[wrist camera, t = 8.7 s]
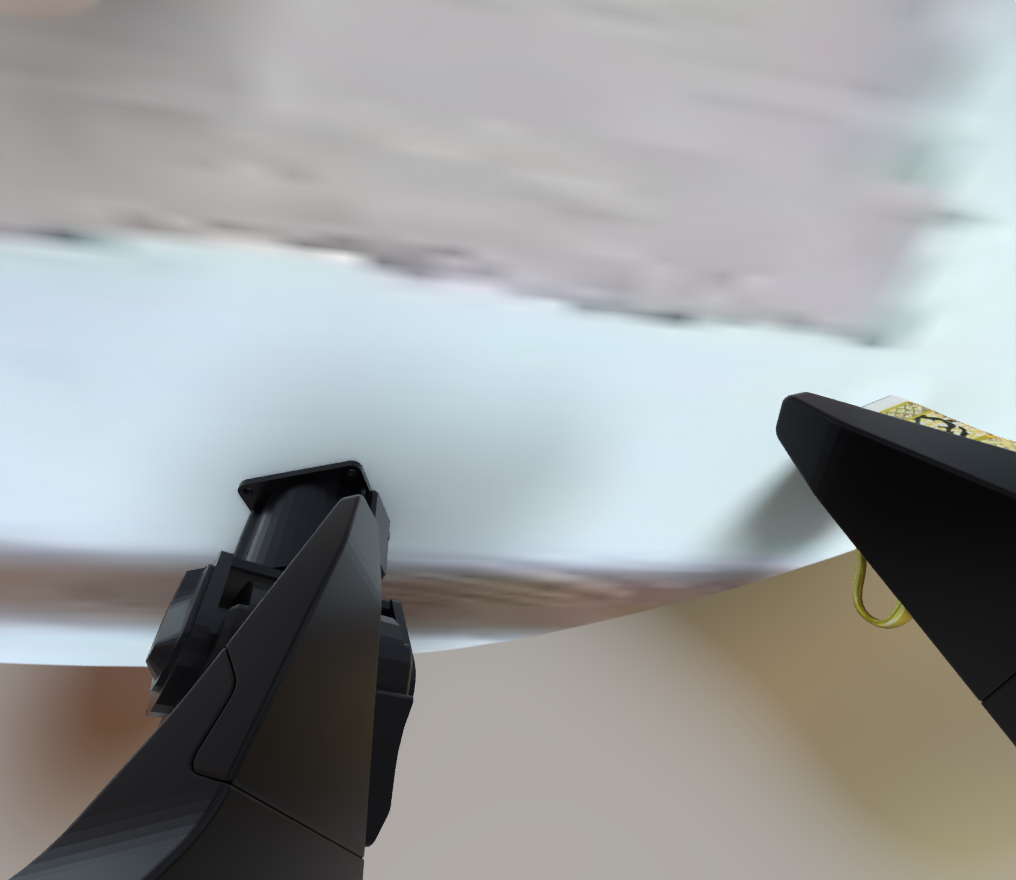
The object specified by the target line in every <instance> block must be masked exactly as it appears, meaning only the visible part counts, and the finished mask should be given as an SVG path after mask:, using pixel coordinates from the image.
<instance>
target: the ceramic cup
mask: <svg viewBox="0 0 1016 880" xmlns="http://www.w3.org/2000/svg"><path fill="white" fill-rule="evenodd" d="M862 408H865V409H869V410H872V411H876V412H879V413H883V414H886V415H890V416H893V417H897V418H900V419H904V420H907V421H911V422H914V423H918V424H921V425H925V426H928V427H932V428H935V429H939V430H942V431H946V432H949V433H953V434H956V435H960V436H963V437H967V438H970V439H974V440H977V441H981V442H984V443H988V444H991V445H995V446H998V447H1002V448H1005V449H1009V450H1012V451H1016V442H1014V441H1011V440H1007V439H1004V438H1001V437H997V436H995V435H992V434H989V433H987V432H984V431H981V430H978V429H976V428H973V427H971V426H969V425H966V424H964V423H961V422H959V421H956V420H954V419H951V418H949V417H947V416H944V415H942V414H940V413H938V412H935V411H933V410H931V409H928V408H926V407H923V406H921V405H918V404H916V403H913V402H911V401H908V400H906V399H903V398H901V397H898V396H895V395H891V396H888V397H886V398H883V399H881V400H878V401H876V402H873V403H870V404H868V405H865V406H863V407H862ZM856 557H857V567H856V573H855V578H854V583H853V592H852V596H853V603H854V606H855V608H856V610H857V612H858V613H859V614H860V615H861V617H863V618H864V619H865V620H866V621H868V622H869V623H871V624H873V625H875V626H877V627H881V628H886V629H888V628H889V629H891V628H896V627H899V626H902V625H904V624H905V623H907V622H909V621H910V620H911V619H912V616H911V615H910V614H909V613H908V611H907V610H906V609H905V608H904V606H903V605H902V604H901V603H900V601H899V600H897V604H896V607H895V609H894V611H893V613H892V614H891V616H890V617H888V618H887V619H885V620H878V619H876V618H874V617H872V616H871V615H870V614H869V613H868V612H867V611H866V610H865V607H864V605H863V601H862V589H863V584H864V578H865V572H866V559H865V558H864V556H863V555H862V554H861V553H860V551H859V550H858V549H857V548H856Z"/></svg>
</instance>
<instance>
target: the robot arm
mask: <svg viewBox="0 0 1016 880" xmlns="http://www.w3.org/2000/svg"><path fill="white" fill-rule="evenodd" d="M776 434H777V437H778V439H779V441H780V442H781V444H782V445H783V447H784V448H785V450H786V452H787V453H788V455H789V456H790V458H791V459H792V461H793V463H794V464H795V466H796V467H797V469H798V470H799V472H800V474H801V475H802V477H803V478H804V480H805V481H806V483H807V485H808V486H809V488H810V489H811V490H812V492H813V493H814V495H815V496H816V497H817V499H818V500H819V501H820V503H821V504H822V505H823V507H824V508H825V509H826V510H827V512H828V513H829V514H830V515H831V517H832V518H833V519H834V520H835V522H836V523H837V524H838V525H839V527H840V528H841V529H842V530H843V532H844V533H845V534H846V535H847V537H848V538H849V539H850V540H851V542H852V543H853V544H854V545H855V546H856V548H857V549H858V550H859V551H860V553H861V554H862V555H863V556H864V558H865V559H866V560H867V561H868V563H869V564H870V565H871V566H872V568H873V569H874V570H875V571H876V572H877V574H878V575H879V576H880V578H881V579H882V580H883V581H884V583H885V584H886V585H887V586H888V588H889V589H890V590H891V591H892V593H893V594H894V595H895V596H896V598H897V599H898V600H899V601H900V603H901V604H902V605H903V606H904V608H905V609H906V610H907V611H908V613H909V614H910V615H911V616H912V618H913V619H914V620H915V621H916V623H917V624H918V625H919V626H920V627H921V629H922V630H923V631H924V633H925V634H926V635H927V636H928V638H929V639H930V640H931V641H932V643H933V644H934V645H935V646H936V647H937V649H938V650H939V651H940V652H941V654H942V655H943V656H944V657H945V659H946V660H947V661H948V662H949V664H950V665H951V666H952V667H953V669H954V670H955V671H956V672H957V674H958V675H959V676H960V677H961V679H962V680H963V681H964V682H965V684H966V685H967V686H968V687H969V689H970V690H971V691H972V692H973V694H974V695H975V696H976V697H977V699H978V700H979V701H982V702H981V704H982V705H983V706H984V708H985V709H986V710H987V711H988V713H989V714H990V715H991V716H992V718H993V719H994V720H995V721H996V723H997V724H998V725H999V727H1000V728H1001V729H1002V730H1003V731H1004V733H1005V734H1006V735H1007V736H1008V738H1009V739H1010V740H1011V741H1012V743H1013V744H1014V745H1015V746H1016V451H1012V450H1009V449H1005V448H1002V447H998V446H995V445H991V444H988V443H984V442H981V441H977V440H974V439H970V438H967V437H963V436H960V435H956V434H953V433H949V432H946V431H942V430H939V429H935V428H932V427H928V426H925V425H921V424H918V423H914V422H911V421H907V420H904V419H900V418H897V417H893V416H890V415H886V414H883V413H879V412H876V411H872V410H869V409H865V408H862V407H858V406H855V405H851V404H848V403H844V402H841V401H837V400H834V399H830V398H827V397H823V396H820V395H816V394H813V393H809V392H802V393H798V394H793V395H789V396H787V397H786V398H785V399H784V400H783V402H782V405H781V409H780V413H779V417H778V421H777V425H776ZM349 469H354V470H356V471H350V470H349ZM247 488H250V489H252V490H249V489H247ZM238 493H239V495H240V496H241V498H242V499H243V500H244V502H245V503H246V505H247V506H248V508H249V509H250V511H251V512H250V515H249V517H248V520H247V522H246V525H245V527H244V530H243V532H242V534H241V537H240V539H239V542H238V544H237V547H236V549H235V552H234V554H231V553H227V552H224V551H221V552H220V553H219V555H218V557H217V558H216V560H215V561H214V563H213V565H210V564H209V565H208V566H207V567H206V566H205V568H202V569H196V570H191V571H187V572H186V574H185V576H184V577H183V579H182V581H181V583H180V585H179V587H178V589H177V591H176V593H175V595H174V597H173V599H172V601H171V603H170V605H169V607H168V609H167V611H166V614H165V616H164V618H163V620H162V622H161V625H160V627H159V630H158V632H157V635H156V637H155V639H154V642H153V644H152V647H151V649H150V652H149V654H148V657H147V659H146V663H147V666H148V668H149V670H150V672H151V674H152V676H153V680H152V683H151V687H150V692H151V695H150V698H149V703H148V706H147V709H146V714H145V716H152V717H160V718H162V719H161V721H160V724H159V726H158V728H157V730H156V731H155V732H154V733H153V734H152V735H151V736H150V738H149V739H148V740H147V741H146V742H145V743H144V744H143V745H142V746H141V748H140V749H139V750H138V751H137V752H136V753H135V754H134V755H133V756H132V758H131V759H130V760H129V761H128V762H127V763H126V764H125V765H124V767H123V768H122V769H121V770H120V771H119V772H118V773H117V774H116V775H115V777H114V778H113V779H112V780H111V781H110V782H109V783H108V784H107V785H106V787H105V788H104V789H103V790H102V791H101V792H100V793H99V794H98V796H97V797H96V798H95V799H94V800H93V801H92V802H91V803H90V805H89V806H88V807H87V808H86V809H85V810H84V811H83V812H82V813H81V815H80V816H79V817H78V818H77V819H76V820H75V821H74V822H73V823H72V824H71V825H70V826H69V828H68V829H67V830H66V831H65V832H64V833H63V834H62V835H61V836H60V837H59V838H58V839H57V840H56V841H55V842H54V843H53V844H51V845H50V846H49V847H48V848H47V849H46V850H45V851H44V852H43V853H42V854H41V855H40V856H38V857H37V858H36V859H35V860H34V861H32V862H31V863H30V864H29V865H28V866H26V867H25V868H24V869H22V870H21V871H20V872H18V873H17V874H16V875H14V876H13V877H12V878H10V879H9V880H363V868H364V860H363V859H362V858H363V857H364V850H365V847H369V846H370V845H372V844H373V842H374V841H375V839H376V838H377V836H378V834H379V832H380V830H381V827H382V826H383V824H384V822H385V820H386V818H387V816H388V813H389V811H390V807H391V799H392V791H393V783H394V775H395V768H396V761H397V755H398V750H399V746H400V742H401V737H402V734H403V729H404V726H405V723H406V721H407V718H408V715H409V712H410V710H411V707H412V704H413V694H414V688H415V678H416V677H415V676H416V669H415V662H414V658H413V653H412V649H411V644H410V640H409V636H408V631H407V627H406V623H405V618H404V614H403V610H402V605H401V602H397V601H394V600H389V601H387V600H384V599H382V589H381V579H383V577H384V576H385V575H386V565H387V551H388V541H389V537H390V532H389V524H390V521H389V518H388V516H387V513H386V511H385V508H384V506H383V503H382V501H381V498H380V496H379V493H377V492H376V491H375V490H372V489H371V486H370V484H369V482H368V479H367V477H366V474H365V472H364V470H363V467H362V465H361V464H360V463H359V462H356V461H346V462H341V463H335V464H330V465H324V466H319V467H313V468H308V469H302V470H297V471H291V472H286V473H280V474H275V475H269V476H263V477H258V478H252V479H247V480H244V481H242V482H241V483H240V485H239V487H238Z"/></svg>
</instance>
